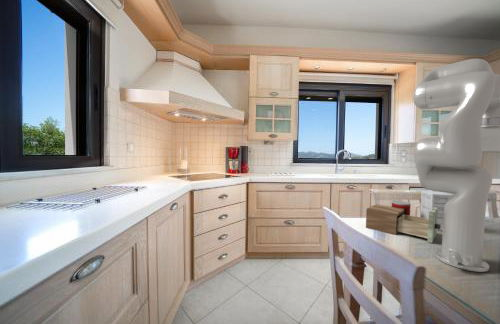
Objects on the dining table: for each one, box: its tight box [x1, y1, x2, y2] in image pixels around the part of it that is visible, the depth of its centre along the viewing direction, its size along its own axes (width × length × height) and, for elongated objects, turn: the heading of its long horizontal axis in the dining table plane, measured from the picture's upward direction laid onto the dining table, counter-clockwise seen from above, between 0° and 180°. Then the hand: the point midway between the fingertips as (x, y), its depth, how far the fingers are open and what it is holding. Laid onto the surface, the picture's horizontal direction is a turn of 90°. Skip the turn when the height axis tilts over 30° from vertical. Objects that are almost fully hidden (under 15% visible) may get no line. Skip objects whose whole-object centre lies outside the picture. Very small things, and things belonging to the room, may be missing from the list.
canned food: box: [391, 199, 411, 216], centre depth 108 cm, size 8×8×11 cm
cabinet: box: [365, 203, 404, 236], centre depth 102 cm, size 14×12×9 cm
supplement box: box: [420, 190, 456, 232], centre depth 104 cm, size 10×9×17 cm
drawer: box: [397, 207, 440, 243], centre depth 93 cm, size 14×14×12 cm
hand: (486, 167), depth 86 cm, fingers open, 9 cm apart
